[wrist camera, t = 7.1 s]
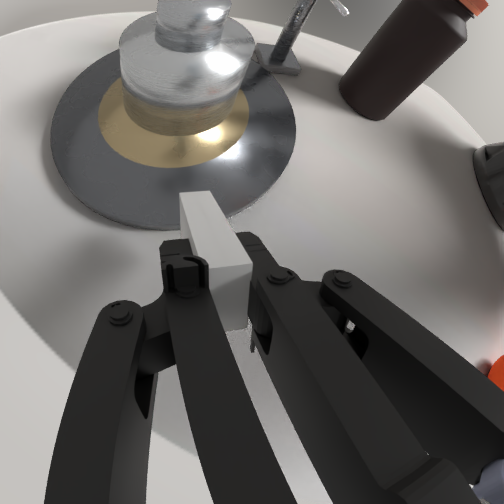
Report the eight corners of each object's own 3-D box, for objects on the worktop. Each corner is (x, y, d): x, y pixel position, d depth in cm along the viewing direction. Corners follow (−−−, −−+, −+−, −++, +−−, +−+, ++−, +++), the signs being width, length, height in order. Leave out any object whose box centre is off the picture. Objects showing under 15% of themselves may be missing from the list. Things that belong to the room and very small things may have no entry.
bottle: (339, 70, 28) (428, -45, 10) (385, 97, 30) (481, 0, 11) (335, 101, 26) (448, -34, 8) (386, 132, 28) (507, 23, 9)
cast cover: (229, 63, 22) (257, -15, 14) (239, 137, 20) (282, 43, 12) (130, 63, 20) (132, -22, 11) (116, 139, 18) (103, 37, 9)
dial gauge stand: (291, 54, 27) (352, -49, 12) (314, 104, 25) (401, -13, 11) (249, 48, 25) (301, -68, 11) (267, 99, 24) (344, -41, 9)
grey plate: (262, 50, 26) (266, 42, 25) (317, 216, 22) (325, 210, 21) (75, 57, 20) (74, 49, 18) (44, 248, 16) (37, 243, 14)
